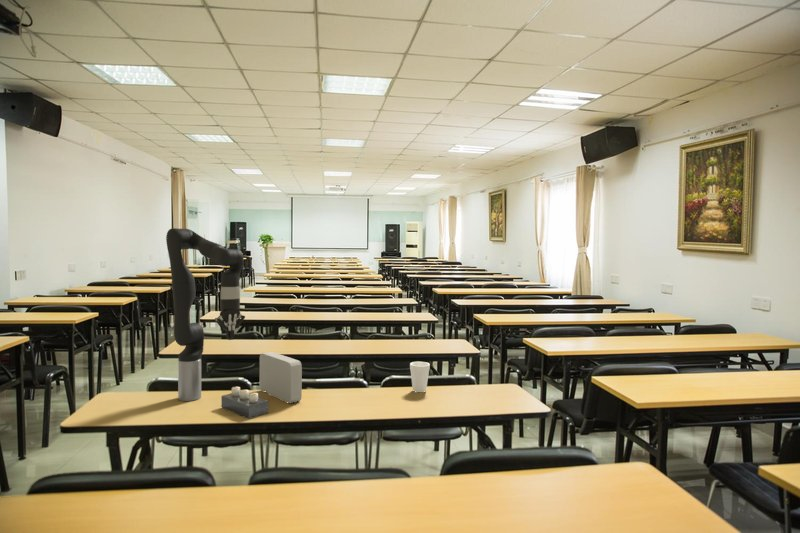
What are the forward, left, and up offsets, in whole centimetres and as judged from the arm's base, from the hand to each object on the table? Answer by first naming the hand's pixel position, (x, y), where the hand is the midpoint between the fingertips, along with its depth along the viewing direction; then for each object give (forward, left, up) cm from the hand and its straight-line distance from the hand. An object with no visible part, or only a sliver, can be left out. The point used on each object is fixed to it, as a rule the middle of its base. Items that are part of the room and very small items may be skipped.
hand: (230, 339), depth 191 cm
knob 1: (-1, +3, -29) cm, 29 cm away
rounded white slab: (+1, +24, -29) cm, 38 cm away
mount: (+6, +3, -29) cm, 30 cm away
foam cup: (+44, +72, -29) cm, 90 cm away
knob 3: (+13, +3, -28) cm, 31 cm away
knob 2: (+6, +3, -29) cm, 29 cm away
